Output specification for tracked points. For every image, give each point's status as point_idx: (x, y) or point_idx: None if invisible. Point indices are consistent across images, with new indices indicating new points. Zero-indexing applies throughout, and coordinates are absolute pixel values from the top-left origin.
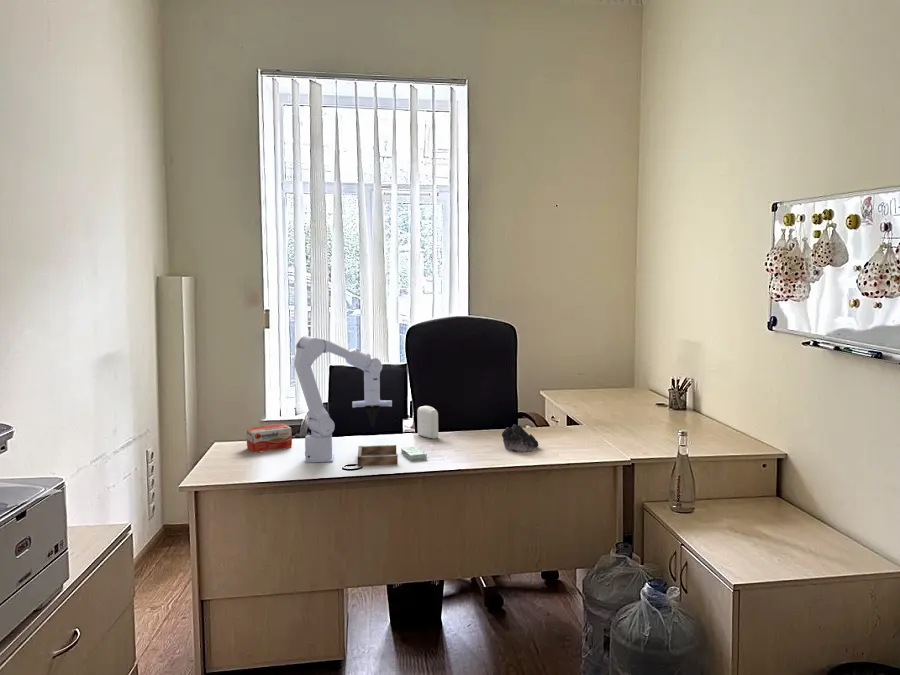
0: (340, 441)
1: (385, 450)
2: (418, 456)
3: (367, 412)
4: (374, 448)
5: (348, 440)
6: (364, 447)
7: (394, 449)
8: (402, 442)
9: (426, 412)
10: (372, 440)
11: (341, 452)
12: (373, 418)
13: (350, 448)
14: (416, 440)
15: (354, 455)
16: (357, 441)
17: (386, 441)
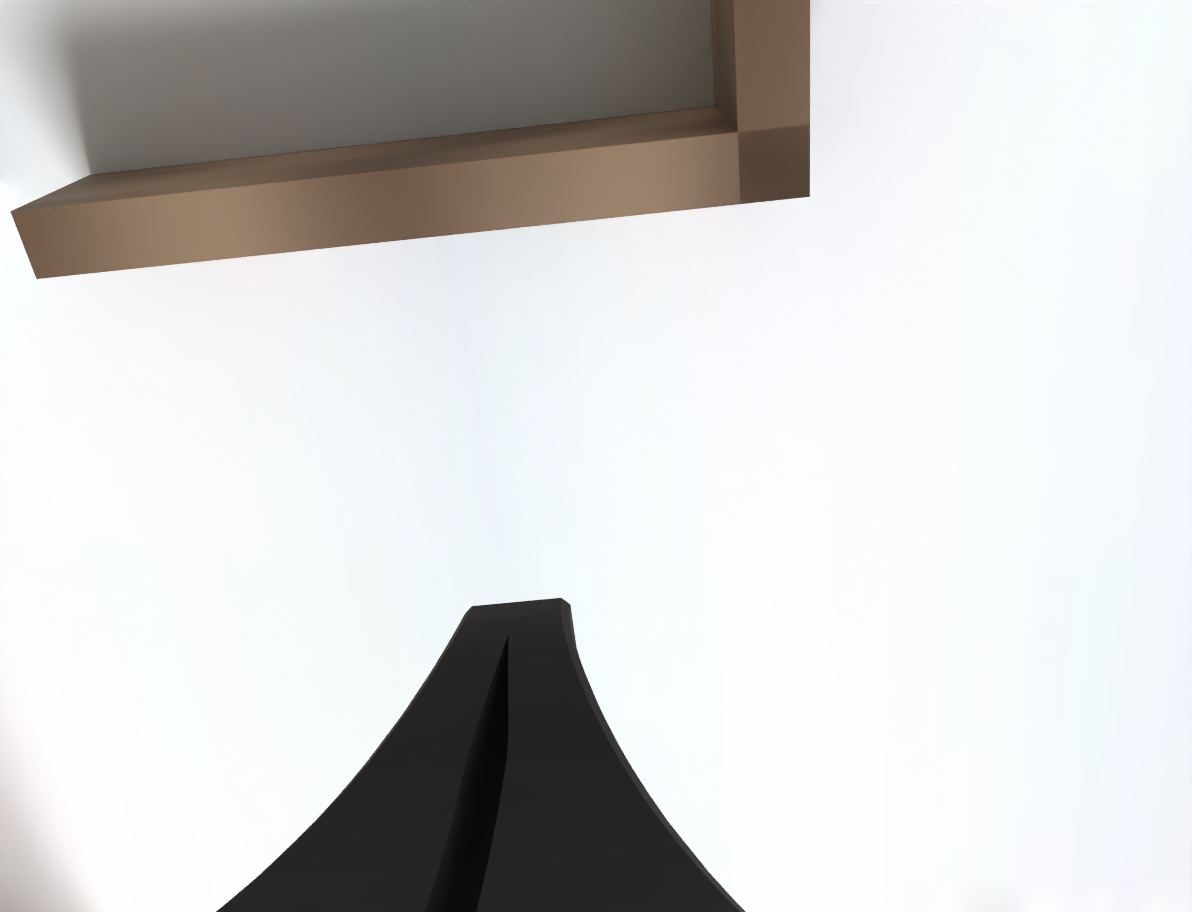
0: (1040, 834)
1: (263, 165)
2: None
3: (686, 893)
4: (470, 151)
5: (934, 871)
6: (678, 135)
7: (85, 191)
8: (195, 788)
9: None
10: None
11: (1076, 289)
12: (452, 742)
13: (916, 519)
14: (35, 865)
15: (852, 73)
16: (816, 833)
17: None
